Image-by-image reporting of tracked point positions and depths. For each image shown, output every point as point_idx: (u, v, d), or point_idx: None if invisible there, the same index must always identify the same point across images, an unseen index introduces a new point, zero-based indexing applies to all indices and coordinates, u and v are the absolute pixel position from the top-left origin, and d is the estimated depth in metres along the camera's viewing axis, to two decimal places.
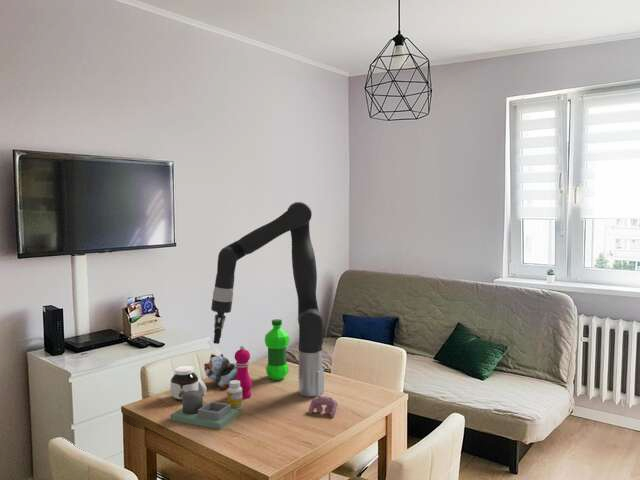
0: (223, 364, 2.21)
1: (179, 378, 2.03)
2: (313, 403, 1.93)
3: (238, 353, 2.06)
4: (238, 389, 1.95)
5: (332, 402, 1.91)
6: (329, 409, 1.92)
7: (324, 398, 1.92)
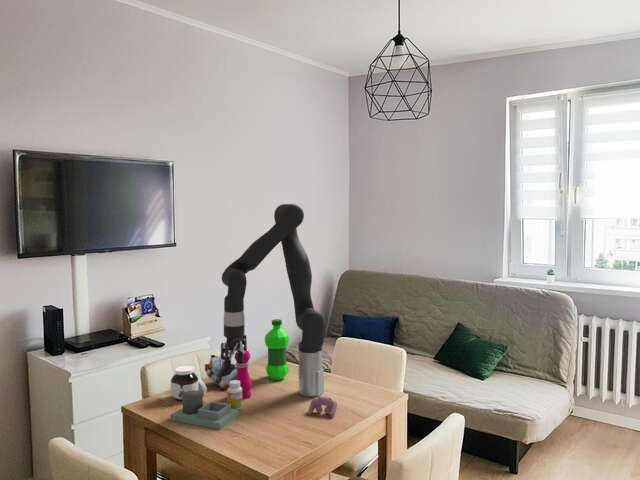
0: (224, 364, 2.20)
1: (179, 378, 2.03)
2: (313, 403, 1.92)
3: None
4: (238, 389, 1.95)
5: (332, 402, 1.91)
6: (329, 409, 1.91)
7: (324, 398, 1.92)
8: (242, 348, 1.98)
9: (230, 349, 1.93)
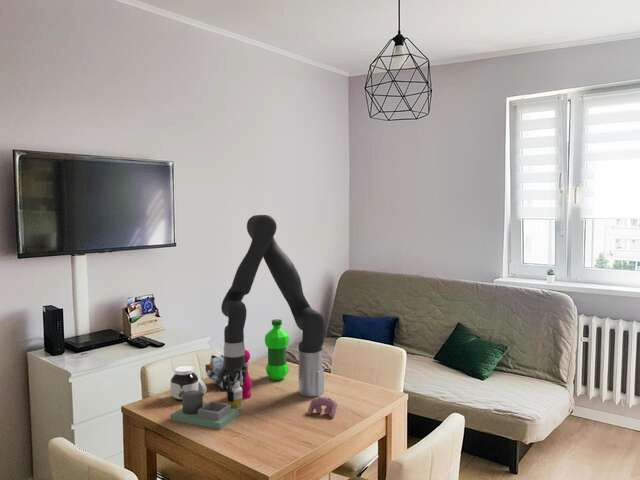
0: None
1: (179, 378, 2.03)
2: (312, 404, 1.92)
3: None
4: (238, 389, 1.95)
5: (332, 403, 1.90)
6: (329, 410, 1.91)
7: (324, 399, 1.91)
8: (241, 379, 1.98)
9: None
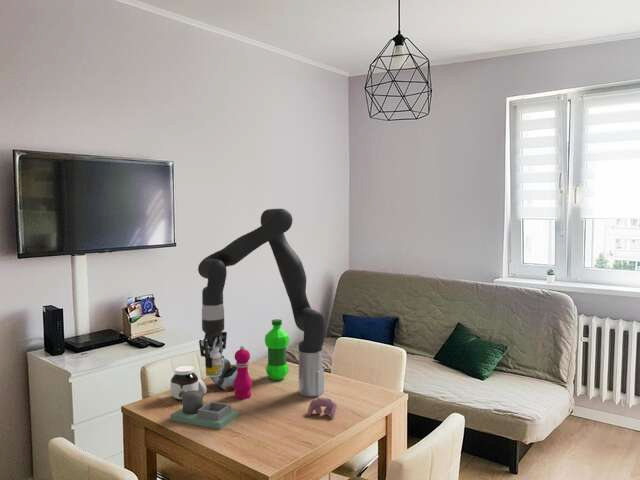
0: (225, 366, 2.18)
1: (179, 378, 2.03)
2: (312, 405, 1.91)
3: (238, 353, 2.06)
4: (217, 355, 1.84)
5: (331, 403, 1.89)
6: (328, 411, 1.90)
7: (323, 399, 1.91)
8: (221, 345, 1.87)
9: None
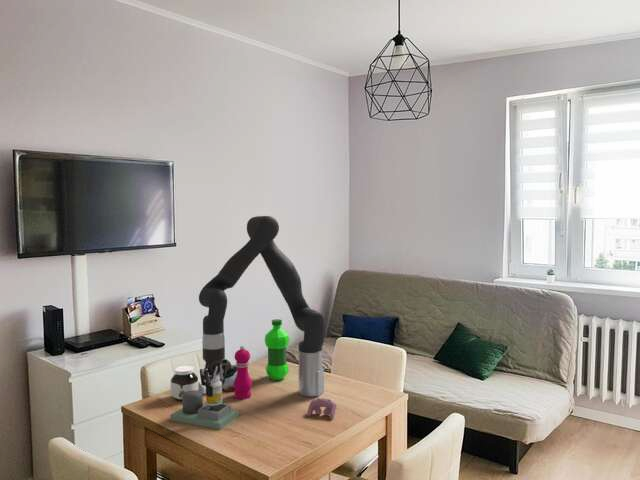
0: None
1: (179, 378, 2.03)
2: (312, 405, 1.91)
3: (238, 353, 2.06)
4: (217, 383, 1.84)
5: (331, 404, 1.89)
6: (328, 411, 1.90)
7: (323, 400, 1.90)
8: (221, 373, 1.87)
9: None
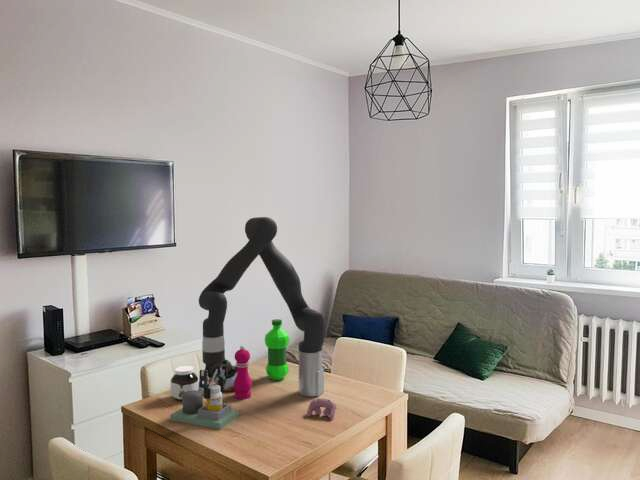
0: None
1: (179, 378, 2.03)
2: (311, 405, 1.90)
3: (238, 353, 2.06)
4: (218, 394, 1.85)
5: (331, 404, 1.89)
6: (328, 411, 1.90)
7: (323, 400, 1.90)
8: (223, 374, 1.88)
9: (209, 376, 1.83)
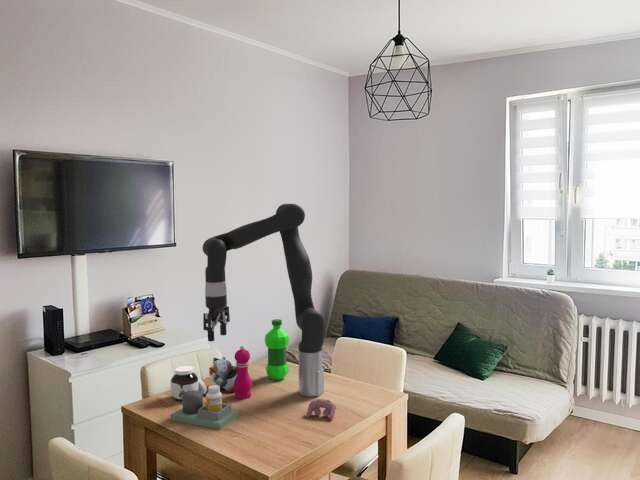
0: (228, 367, 2.17)
1: (179, 378, 2.03)
2: (311, 406, 1.90)
3: (238, 353, 2.06)
4: (217, 394, 1.85)
5: (330, 405, 1.88)
6: (327, 412, 1.89)
7: (322, 401, 1.89)
8: (225, 319, 1.97)
9: (213, 320, 1.92)
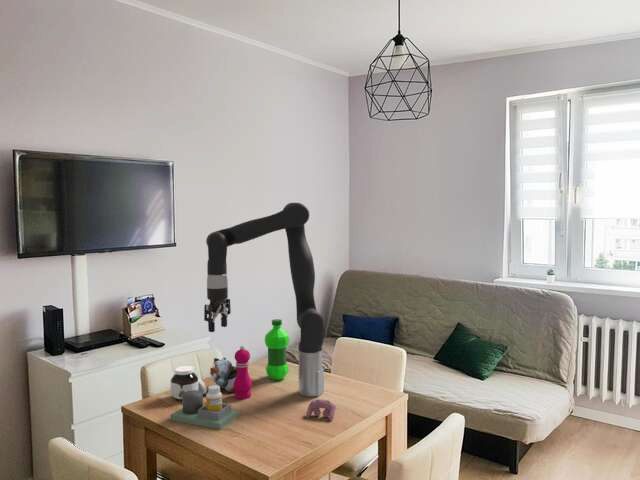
0: (229, 367, 2.16)
1: (179, 378, 2.03)
2: (311, 406, 1.90)
3: (238, 353, 2.06)
4: (217, 394, 1.85)
5: (330, 405, 1.88)
6: (327, 412, 1.89)
7: (322, 401, 1.89)
8: (226, 311, 2.02)
9: (213, 311, 1.97)
